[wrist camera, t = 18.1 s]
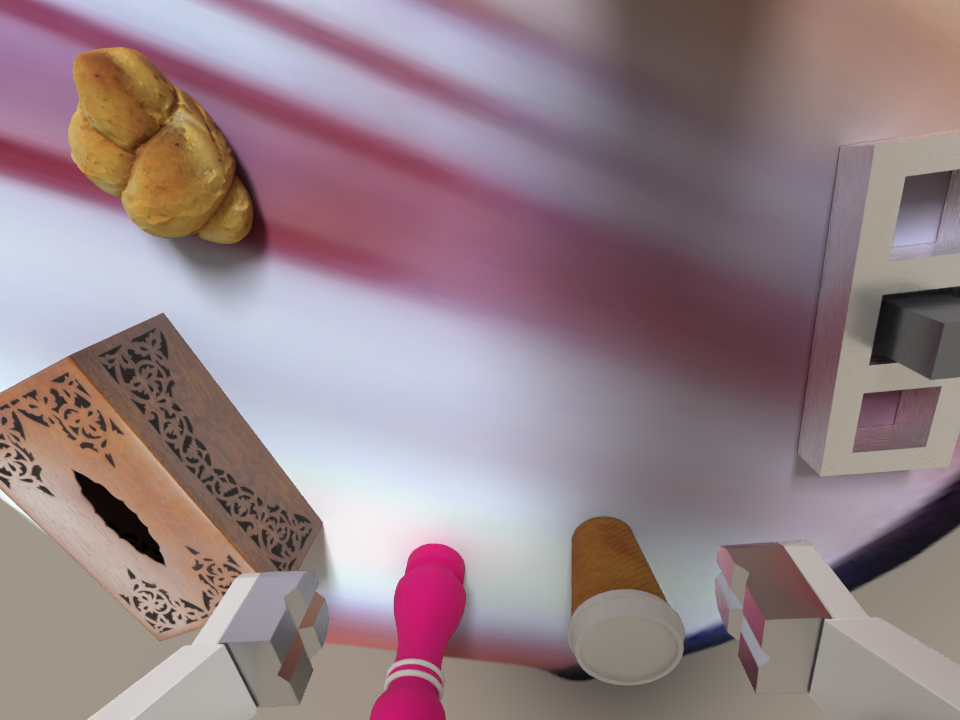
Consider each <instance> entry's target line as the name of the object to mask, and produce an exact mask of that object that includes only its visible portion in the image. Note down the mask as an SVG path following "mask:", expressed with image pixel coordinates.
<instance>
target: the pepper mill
mask: <svg viewBox="0 0 960 720" xmlns="http://www.w3.org/2000/svg"><path fill="white" fill-rule="evenodd" d="M464 570H465V566H464V562H463V559H462V558H461V556H460V555H459V554H458V553H457V552H456V551H455V550H453V549H452V548H450V547H448V546H445V545H441V544H426V545H423V546H421V547H419V548H417V549H415V550H414V551H413V552H412V553H411V555H410V557H409V559H408V563H407V567H406V571H405V575H404V576H403V577H402V578H401V580H400V581H399V583H398V585H397V587H396V591H395V596H394V616H395V621H396V626H397V632H398V649H397V657H396V660H395V663H394V664H393V665H391V667H390V668H389V669H388V671H387V676H386V677H387V679H386V681H385V683H384V693H383V694H382V695H381V696H380V697H379V698H378V699H377V700H376V702H375V704H374V706H373V709H372V712H371V716H370V720H445V719H446V718H445V712H444V709H443V706H442V704H441V702H440V701H441V699H442V697H443V687H444V683H445V680H444V676H443V673H442V672H441V663H442V659H443V655H444V651H445V649H446V646H447V644H448V641H449V640H450V638H451V636H452V635H453V633H454V631H455V630H456V628H457V627H458V625H459V623H460V621H461V618H462V616H463V613H464V609H465V604H466V593H465V590H464V587H463V585H462V584H463V579H464Z"/></svg>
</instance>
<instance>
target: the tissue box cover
mask: <svg viewBox="0 0 960 720" xmlns="http://www.w3.org/2000/svg"><path fill="white" fill-rule="evenodd" d="M0 489H1V490H2V491H3V492H4V493H5V494H6V495H7V496H8V497H9V498H10V499H11V500H13V501H14V502H15V503H16V504H17V505H18V506H19V507H20V508H21V509H22V510H23V511H24V512H25V513H26V514H27V515H28V516H29V517H30V518H31V519H32V520H33V521H34V522H36V523H37V524H38V525H39V526H40V527H41V528H42V529H43V530H44V531H45V532H46V533H47V534H48V535H49V536H50V537H51V538H52V539H53V540H54V541H55V542H57V544H59V545H60V546H61V547H62V548H63V549H64V550H65V551H66V552H67V553H68V554H69V555H70V556H71V557H72V558H73V559H74V560H75V561H76V562H77V563H79V565H81V566H82V567H83V568H84V569H85V570H86V571H87V572H88V573H89V574H90V575H91V576H92V577H93V578H94V579H95V580H96V581H97V582H98V583H99V584H100V585H101V586H102V587H104V588H105V589H106V590H107V591H108V592H109V593H110V594H111V595H112V596H113V597H114V598H115V599H116V600H117V601H118V602H119V603H120V604H121V605H122V606H123V607H124V608H125V609H126V610H127V611H129V612H130V613H131V614H132V615H133V616H134V617H135V618H136V619H137V620H138V621H139V622H140V623H141V624H142V625H143V626H144V627H146V629H147V630H148V631H149V632H151V634H153V635H154V636H155V637H156V638H157V639H158V640H159V641H163V640H166V639H169V638H172V637H175V636H178V635H181V634H184V633H187V632H190V631H194V630H196V629H200V628H203V627H204V625H205V624H206V622H207V621H208V619H209V618H210V616H211V615H212V613H213V612H214V610H215V609H216V607H217V606H218V604H219V603H220V601H221V600H222V598H223V597H224V595H225V594H226V592H227V590H228V589H229V587H230V586H231V584H232V583H233V581H234V580H235V579H236V578H237V577H238V576H240V575H241V574H243V573H262V572H280V571H298V570H299V568H300V566H301V564H302V562H303V560H304V558H305V556H306V554H307V552H308V550H309V548H310V546H311V544H312V542H313V540H314V538H315V537H316V535H317V533H318V531H319V529H320V527H321V525H322V523H323V522H322V521H321V520H320V518H319V517H318V516H317V514H316V513H315V512H314V510H313V509H312V508H311V506H310V505H309V504H308V502H307V501H306V500H305V498H304V497H303V496H302V495H301V493H300V492H299V491H298V489H297V488H296V487H295V485H294V484H293V483H292V481H291V480H290V479H289V477H288V476H287V475H286V473H285V472H284V471H283V470H282V468H281V467H280V466H279V464H278V463H277V462H276V460H275V459H274V458H273V456H272V455H271V454H270V452H269V451H268V450H267V448H266V447H265V446H264V445H263V443H262V442H261V441H260V439H259V438H258V437H257V435H256V434H255V433H254V431H253V430H252V429H251V427H250V426H249V425H248V423H247V422H246V421H245V420H244V418H243V417H242V416H241V414H240V413H239V412H238V410H237V409H236V408H235V406H234V405H233V404H232V402H231V401H230V400H229V398H228V397H227V396H226V395H225V393H224V392H223V391H222V389H221V388H220V387H219V385H218V384H217V383H216V381H215V380H214V379H213V377H212V376H211V375H210V373H209V372H208V371H207V370H206V368H205V367H204V366H203V364H202V363H201V362H200V360H199V359H198V358H197V356H196V355H195V354H194V352H193V351H192V350H191V348H190V347H189V346H188V345H187V343H186V342H185V341H184V339H183V338H182V337H181V335H180V334H179V333H178V331H177V330H176V329H175V327H174V326H173V325H172V323H171V322H170V321H169V320H168V318H167V317H166V316H165V314H164V313H162V314H159V315H157V316H155V317H153V318H151V319H148V320H146V321H144V322H142V323H140V324H137V325H135V326H133V327H131V328H129V329H127V330H124V331H122V332H120V333H118V334H116V335H113V336H111V337H109V338H107V339H105V340H102V341H100V342H98V343H96V344H94V345H91V346H89V347H87V348H85V349H83V350H81V351H78V352H76V353H74V354H72V355H70V356H68V357H66V358H64V359H62V360H60V361H58V362H57V363H55V364H53V365H51V366H49V367H47V368H45V369H44V370H42V371H40V372H38V373H36V374H34V375H32V376H31V377H29V378H27V379H25V380H23V381H21V382H20V383H18V384H16V385H14V386H12V387H10V388H8V389H7V390H5V391H3V392H1V393H0Z"/></svg>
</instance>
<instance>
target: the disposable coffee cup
mask: <svg viewBox="0 0 960 720" xmlns="http://www.w3.org/2000/svg"><path fill="white" fill-rule="evenodd" d="M571 610H572V614H571V620H570V623H569V626H568V630H567V638H568V644H569V647H570V649H571V651H572V652H573V654H574V655H575V656H576V659H577V662H578V663H579V665H580V666H581V667H582V669H583V670H584V671H585V672H587V673H588V674H589V675H591V676H593V677H595V678H597V679H599V680H601V681H604V682H607V683H611V684H617V685H639V684H644V683H649V682H652V681H654V680H657V679H659V678H662V677H663V676H665V675H667V674H668V673H670V672H671V671H672V670H673V669H674V668H675V667H676V666H677V665H678V663H679V662H680V660H681V658H682V655H683V650H684V648H683V641H684V638H685V632H684V626H683V623H682V621H681V619H680V617H679V615H678V614H677V613H676V612H675V611H674V610H673V609H672V608H671V606H670V605H669V604H668V602H667V601H666V599H665V596H664V595H663V593H662V590H661V589H660V588H659V584H658V583H657V581H656V579H655V577H654V574H653V573H652V571H651V569H650V567H649V564H648V563H647V561H646V558H645V557H644V555H643V553H642V550H641V549H640V547H639V545H638V543H637V541H636V539H635V538H634V535H633V533H632V530H631V529H630V527H629V526H628V525H627V524H625V523H624V522H623V521H621V520H618V519H616V518H611V517H596V518H592V519H589V520H587V521H585V522H584V523H582V524H581V525H580V526H578V527H577V529H576V530H575V532H574V534H573V537H572V609H571Z"/></svg>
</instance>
